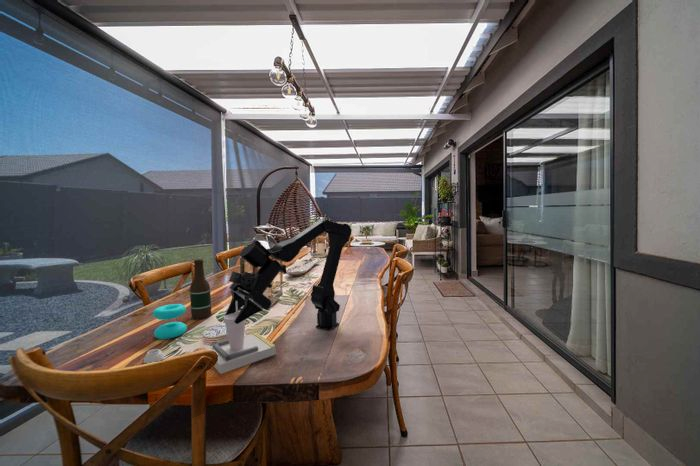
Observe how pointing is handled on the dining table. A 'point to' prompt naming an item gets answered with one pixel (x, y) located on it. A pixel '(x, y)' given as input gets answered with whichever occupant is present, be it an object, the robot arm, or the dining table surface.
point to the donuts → (173, 327)
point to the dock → (242, 352)
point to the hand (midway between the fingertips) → (230, 319)
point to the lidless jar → (153, 356)
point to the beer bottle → (200, 293)
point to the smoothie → (235, 330)
